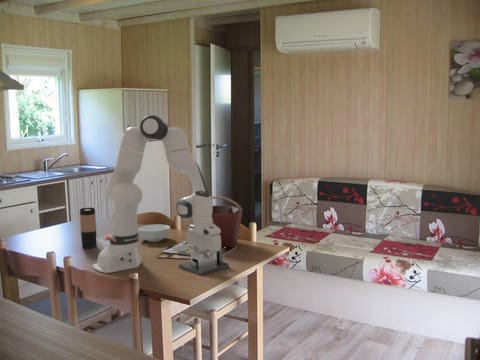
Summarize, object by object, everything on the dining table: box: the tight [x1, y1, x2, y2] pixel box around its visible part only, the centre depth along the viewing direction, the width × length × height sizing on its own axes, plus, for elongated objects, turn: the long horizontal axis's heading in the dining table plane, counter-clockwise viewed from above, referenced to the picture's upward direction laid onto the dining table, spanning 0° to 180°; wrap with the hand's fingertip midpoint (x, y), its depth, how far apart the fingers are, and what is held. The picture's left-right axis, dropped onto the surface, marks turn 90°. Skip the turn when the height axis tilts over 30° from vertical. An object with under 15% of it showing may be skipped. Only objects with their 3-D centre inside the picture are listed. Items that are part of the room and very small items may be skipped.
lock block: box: [189, 248, 217, 268], centre depth 243 cm, size 10×6×6 cm, turn 134°
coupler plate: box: [178, 249, 230, 276], centre depth 243 cm, size 16×16×8 cm
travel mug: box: [79, 207, 97, 250], centre depth 278 cm, size 8×8×20 cm
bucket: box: [211, 196, 243, 248], centre depth 280 cm, size 24×22×25 cm
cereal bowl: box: [137, 223, 171, 243], centre depth 291 cm, size 17×17×7 cm
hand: (203, 257), depth 243 cm, fingers open, 8 cm apart
